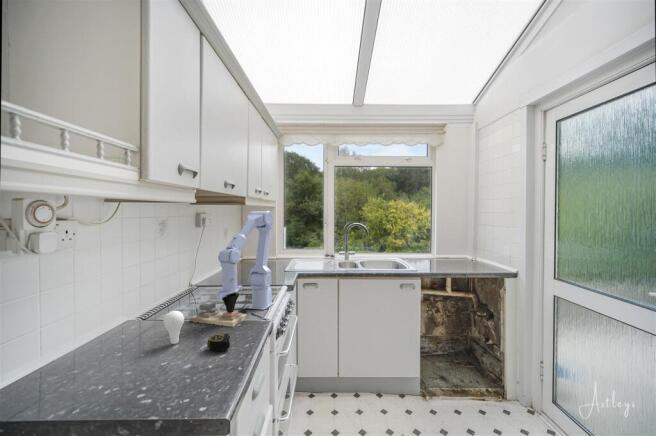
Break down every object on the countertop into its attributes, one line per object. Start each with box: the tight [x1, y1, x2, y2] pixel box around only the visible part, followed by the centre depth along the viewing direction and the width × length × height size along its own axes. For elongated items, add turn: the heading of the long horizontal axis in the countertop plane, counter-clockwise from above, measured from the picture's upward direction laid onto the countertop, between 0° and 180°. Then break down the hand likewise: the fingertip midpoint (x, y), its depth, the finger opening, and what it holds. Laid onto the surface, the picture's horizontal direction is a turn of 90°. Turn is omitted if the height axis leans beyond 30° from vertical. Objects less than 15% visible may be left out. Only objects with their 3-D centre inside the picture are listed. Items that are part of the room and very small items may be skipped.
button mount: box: [189, 309, 248, 328], centre depth 122 cm, size 10×20×2 cm, turn 73°
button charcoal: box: [198, 301, 217, 311], centre depth 124 cm, size 4×4×2 cm
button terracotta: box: [222, 310, 239, 318], centre depth 120 cm, size 4×4×2 cm
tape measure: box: [206, 333, 231, 352], centre depth 96 cm, size 7×7×4 cm
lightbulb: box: [163, 310, 185, 345], centre depth 100 cm, size 6×6×11 cm
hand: (230, 312), depth 120 cm, fingers closed, pressing on button terracotta
